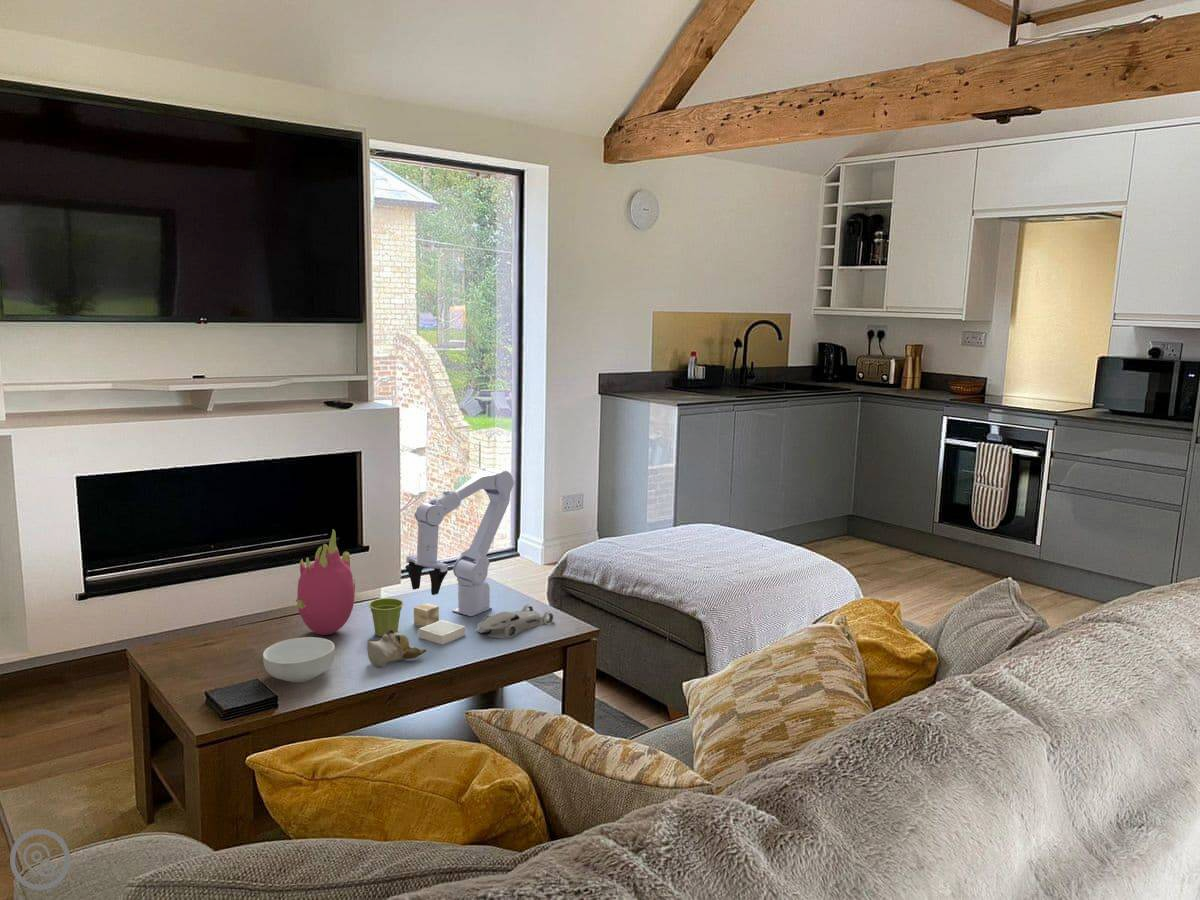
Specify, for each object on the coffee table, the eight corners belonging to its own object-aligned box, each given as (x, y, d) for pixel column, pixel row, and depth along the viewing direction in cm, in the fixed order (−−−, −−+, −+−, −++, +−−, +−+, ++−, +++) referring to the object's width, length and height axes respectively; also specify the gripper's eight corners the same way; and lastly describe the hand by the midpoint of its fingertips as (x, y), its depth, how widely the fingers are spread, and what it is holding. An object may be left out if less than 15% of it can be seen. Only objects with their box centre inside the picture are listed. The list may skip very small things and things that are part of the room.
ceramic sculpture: (356, 630, 228) (403, 619, 240) (354, 663, 229) (402, 650, 241) (381, 641, 222) (429, 629, 233) (380, 675, 223) (427, 661, 234)
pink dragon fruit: (341, 619, 261) (338, 519, 256) (368, 631, 252) (366, 527, 248) (285, 635, 248) (281, 530, 243) (311, 648, 239) (308, 539, 234)
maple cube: (426, 619, 263) (426, 602, 262) (438, 622, 260) (438, 606, 260) (414, 623, 259) (413, 607, 258) (426, 627, 256) (426, 610, 256)
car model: (556, 622, 263) (556, 606, 263) (493, 643, 246) (493, 626, 245) (530, 613, 271) (531, 597, 270) (467, 633, 253) (467, 616, 252)
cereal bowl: (297, 658, 232) (296, 632, 231) (349, 669, 226) (348, 642, 225) (248, 683, 217) (247, 655, 216) (303, 695, 210) (302, 666, 209)
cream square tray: (441, 628, 256) (441, 619, 255) (465, 635, 251) (465, 626, 250) (418, 637, 248) (418, 628, 248) (442, 644, 243) (442, 635, 243)
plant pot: (408, 628, 255) (407, 598, 254) (397, 640, 246) (397, 609, 245) (376, 626, 256) (375, 597, 255) (364, 638, 247) (363, 608, 246)
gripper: (399, 542, 257) (397, 588, 259) (436, 551, 249) (433, 599, 251) (417, 539, 263) (415, 584, 264) (453, 548, 255) (451, 594, 256)
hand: (425, 591), depth 258 cm, fingers open, 7 cm apart
